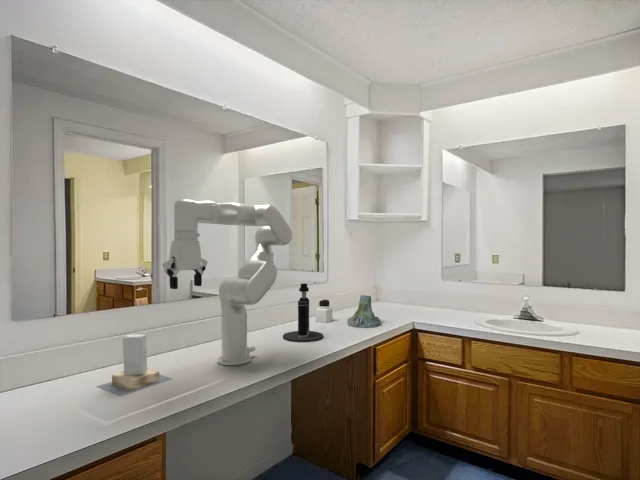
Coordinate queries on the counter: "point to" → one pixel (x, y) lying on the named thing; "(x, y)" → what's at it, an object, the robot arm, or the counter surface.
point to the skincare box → (135, 354)
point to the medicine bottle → (324, 312)
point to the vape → (303, 322)
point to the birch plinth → (135, 379)
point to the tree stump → (364, 315)
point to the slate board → (122, 391)
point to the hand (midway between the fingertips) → (186, 287)
